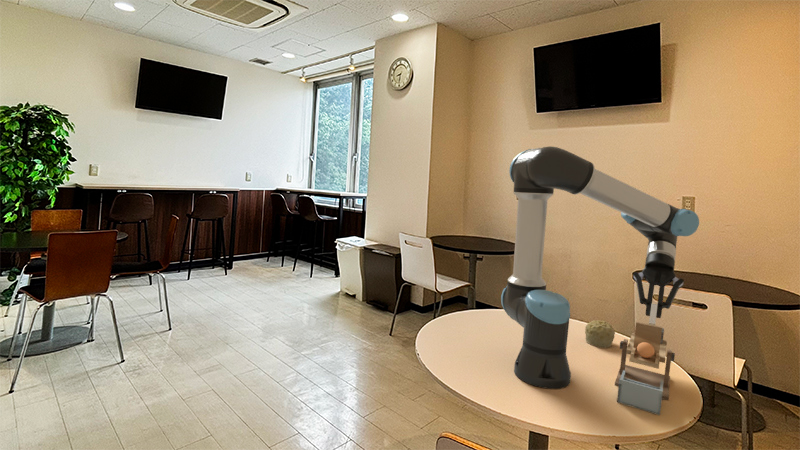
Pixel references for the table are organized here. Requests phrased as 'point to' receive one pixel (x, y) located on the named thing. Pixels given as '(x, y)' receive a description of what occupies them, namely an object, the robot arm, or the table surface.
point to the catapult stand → (646, 372)
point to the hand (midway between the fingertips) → (651, 325)
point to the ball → (645, 350)
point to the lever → (652, 337)
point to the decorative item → (599, 333)
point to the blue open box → (640, 395)
